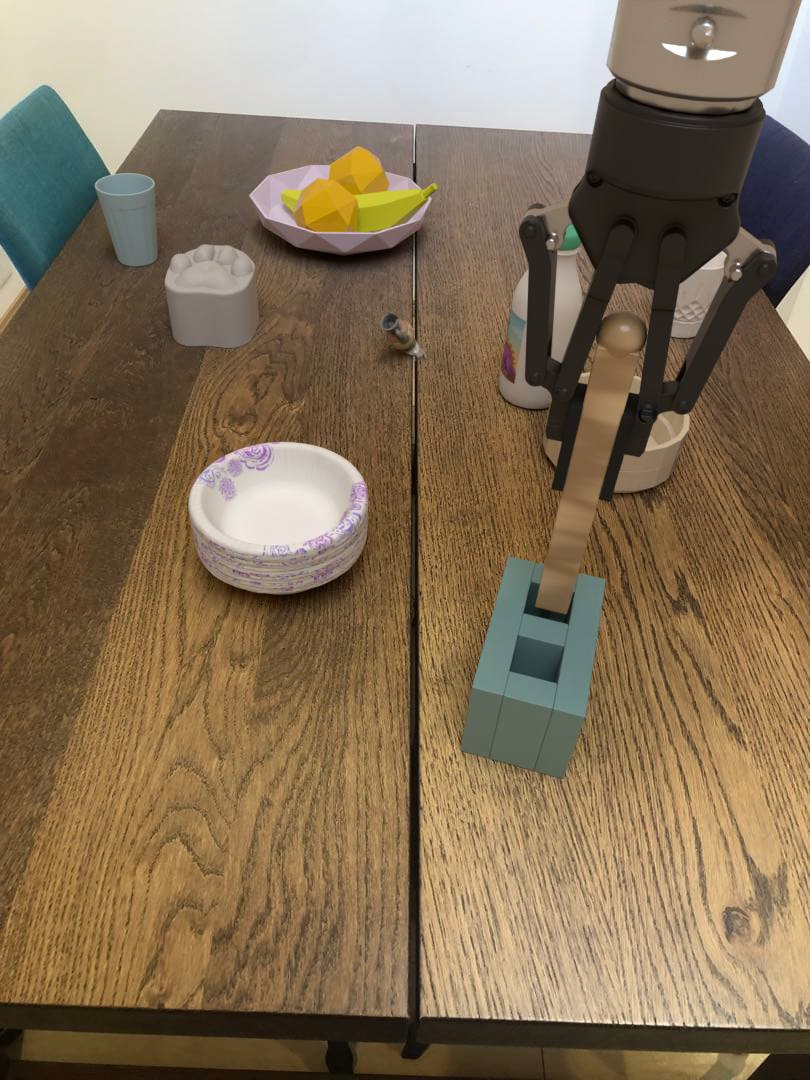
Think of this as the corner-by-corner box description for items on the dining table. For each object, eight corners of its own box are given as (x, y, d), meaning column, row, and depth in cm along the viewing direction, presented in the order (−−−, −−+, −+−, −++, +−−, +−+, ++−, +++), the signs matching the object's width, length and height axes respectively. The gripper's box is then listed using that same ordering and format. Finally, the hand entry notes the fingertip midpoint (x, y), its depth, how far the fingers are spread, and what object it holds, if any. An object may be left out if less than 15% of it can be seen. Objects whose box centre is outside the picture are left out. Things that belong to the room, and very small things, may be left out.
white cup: (634, 322, 110) (653, 250, 103) (669, 306, 114) (690, 236, 107) (681, 347, 106) (705, 274, 99) (716, 329, 110) (742, 258, 103)
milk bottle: (570, 385, 98) (608, 220, 84) (551, 418, 93) (588, 248, 79) (510, 368, 100) (537, 204, 86) (488, 399, 95) (513, 230, 81)
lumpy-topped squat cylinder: (166, 344, 100) (154, 278, 94) (187, 294, 109) (178, 230, 103) (251, 349, 100) (245, 283, 94) (265, 298, 110) (261, 235, 104)
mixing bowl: (676, 431, 92) (691, 386, 88) (670, 510, 82) (687, 463, 78) (552, 406, 95) (561, 361, 91) (531, 479, 85) (541, 432, 81)
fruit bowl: (219, 227, 125) (211, 149, 117) (357, 189, 139) (357, 117, 131) (332, 298, 111) (331, 215, 103) (473, 248, 124) (482, 171, 117)
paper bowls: (250, 485, 82) (244, 420, 76) (391, 529, 78) (395, 464, 73) (164, 587, 71) (150, 520, 66) (322, 643, 68) (321, 577, 62)
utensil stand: (585, 643, 69) (606, 578, 64) (563, 779, 60) (585, 717, 54) (495, 621, 71) (508, 555, 65) (460, 750, 61) (471, 687, 56)
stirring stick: (573, 591, 62) (654, 305, 46) (568, 617, 60) (651, 329, 44) (537, 582, 63) (604, 297, 46) (531, 608, 61) (599, 320, 44)
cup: (147, 274, 113) (134, 198, 105) (99, 264, 114) (82, 188, 107) (175, 252, 118) (165, 178, 111) (129, 243, 119) (115, 169, 112)
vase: (390, 372, 98) (393, 328, 94) (367, 351, 101) (368, 307, 97) (427, 361, 100) (431, 317, 96) (403, 341, 104) (406, 297, 99)
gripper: (504, 87, 36) (455, 492, 52) (874, 137, 33) (702, 547, 50) (532, 47, 41) (480, 427, 58) (854, 87, 39) (704, 473, 55)
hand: (583, 482), depth 54 cm, fingers closed on stirring stick, 2 cm apart
